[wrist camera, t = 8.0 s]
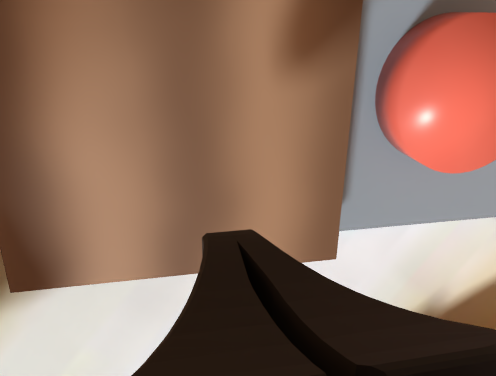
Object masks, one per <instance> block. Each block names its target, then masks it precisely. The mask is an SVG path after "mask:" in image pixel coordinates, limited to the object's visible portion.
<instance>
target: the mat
mask: <svg viewBox="0 0 496 376" xmlns="http://www.w3.org/2000/svg"><path fill="white" fill-rule="evenodd" d="M449 12H487V13H496V0H363V4H362V14H361V24H360V33H359V43H358V53H357V62H356V72H355V82H354V91H353V101H352V110H351V120H350V130H349V139H348V149H347V159H346V168H345V178H344V188H343V197H342V207H341V217H340V226H339V231H345V230H356V229H367V228H378V227H389V226H400V225H411V224H422V223H433V222H444V221H455V220H466V219H478V218H489V217H496V160H495V161H493V162H491V163H489V164H488V165H486V166H483V167H481V168H479V169H476V170H473V171H470V172H464V173H453V174H451V173H443V172H439V171H435V170H433V169H430V168H428V167H426V166H425V165H423V164H421V163H419V162H418V161H416V160H414V159H412V158H411V157H409V156H407V155H405V154H404V153H402V152H400V151H399V150H397V149H396V148H395V147H394V146H393V145H391V144H390V142H389V141H388V140H387V139H386V137H385V136H384V134H383V132H382V131H381V128H380V126H379V123H378V119H377V115H376V108H375V94H376V87H377V82H378V78H379V75H380V72H381V70H382V67H383V65H384V63H385V61H386V59H387V57H388V55H389V54H390V52H391V51H392V49H393V47H394V46H395V45H396V44H397V43H398V41H399V40H400V39H401V38H402V37H403V36H404V35H405V34H406V33H407V32H408V31H409V30H411V29H412V28H413V27H414V26H416V25H417V24H419V23H421V22H422V21H424V20H426V19H428V18H430V17H433V16H435V15H439V14H443V13H449Z"/></svg>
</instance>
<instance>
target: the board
mask: <svg viewBox="0 0 496 376" xmlns="http://www.w3.org/2000/svg"><path fill="white" fill-rule="evenodd" d="M362 4H363V0H0V249H1V253H2V257H3V262H4V266H5V271H6V275H7V279H8V284H9V288H10V293H13V292H23V291H32V290H42V289H52V288H61V287H71V286H81V285H90V284H100V283H109V282H119V281H129V280H138V279H148V278H158V277H167V276H177V275H187V274H196V273H199V269H200V265H201V261H202V237H203V236H204V235H205V234H206V233H214V232H225V231H237V230H248V229H252V230H254V231H255V232H257V233H258V234H260V235H261V236H263V237H264V238H265V239H267V240H268V241H270V242H271V243H272V244H274V245H275V246H277V247H278V248H279V249H281V250H282V251H284V252H285V253H287V254H288V255H290V256H291V257H293V258H294V259H296V260H297V261H299V262H300V263H303V262H312V261H322V260H332V259H336V255H337V245H338V236H339V226H340V217H341V207H342V197H343V188H344V178H345V168H346V159H347V149H348V139H349V130H350V120H351V110H352V101H353V91H354V82H355V72H356V62H357V53H358V43H359V33H360V24H361V14H362Z"/></svg>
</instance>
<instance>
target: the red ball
mask: <svg viewBox="0 0 496 376" xmlns="http://www.w3.org/2000/svg"><path fill="white" fill-rule="evenodd" d="M375 108H376V115H377V119H378V123H379V126H380V128H381V131H382V132H383V134H384V136H385V137H386V139H387V140H388V141H389V142H390V144H391V145H393V146H394V147H395V148H396V149H397V150H399V151H400V152H402V153H404V154H405V155H407V156H409V157H411V158H412V159H414V160H416V161H418V162H419V163H421V164H423V165H425V166H426V167H428V168H430V169H433V170H435V171H439V172H443V173H451V174H453V173H464V172H470V171H473V170H476V169H479V168H481V167H483V166H486V165H488V164H489V163H491V162H493V161H495V160H496V13H487V12H449V13H443V14H439V15H435V16H433V17H430V18H428V19H426V20H424V21H422V22H421V23H419V24H417V25H416V26H414V27H413V28H412V29H411V30H409V31H408V32H407V33H406V34H405V35H404V36H403V37H402V38H401V39H400V40H399V41H398V43H397V44H396V45H395V46H394V47H393V49H392V51H391V52H390V54H389V55H388V57H387V59H386V61H385V63H384V65H383V67H382V70H381V72H380V75H379V78H378V82H377V87H376V94H375Z"/></svg>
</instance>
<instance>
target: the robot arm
mask: <svg viewBox="0 0 496 376" xmlns="http://www.w3.org/2000/svg"><path fill="white" fill-rule="evenodd" d="M132 376H496V330H494V329H489V328H484V327H479V326H473V325H468V324H463V323H458V322H452V321H447V320H443V319H438V318H435V317H431V316H427V315H423V314H419V313H416V312H412V311H409V310H405V309H402V308H399V307H396V306H392V305H390V304H387V303H384V302H381V301H379V300H376V299H373V298H370V297H368V296H365V295H363V294H360V293H358V292H355V291H353V290H351V289H349V288H347V287H345V286H342V285H340V284H338V283H336V282H334V281H332V280H330V279H328V278H326V277H324V276H322V275H321V274H319V273H317V272H316V271H314V270H312V269H310V268H309V267H307V266H305V265H304V264H302V263H300V262H299V261H297V260H296V259H294V258H293V257H291V256H290V255H288V254H287V253H285V252H284V251H282V250H281V249H279V248H278V247H277V246H275V245H274V244H272V243H271V242H270V241H268V240H267V239H265V238H264V237H263V236H261V235H260V234H258V233H257V232H255V231H254V230H252V229H248V230H237V231H225V232H214V233H206V234H205V235H204V236H203V237H202V261H201V265H200V269H199V273H198V276H197V279H196V281H195V284H194V287H193V289H192V292H191V294H190V296H189V299H188V301H187V303H186V305H185V307H184V308H183V310H182V312H181V314H180V316H179V317H178V319H177V320H176V322H175V324H174V325H173V327H172V328H171V330H170V331H169V333H168V334H167V336H166V337H165V338H164V340H163V341H162V342H161V344H160V345H159V346H158V347H157V348H156V350H155V351H154V352H153V353H152V354H151V356H150V357H149V358H148V359H147V360H146V362H145V363H144V364H143V365H142V366H141V367H140V368H139V369H138V370H137V371H136V372H135V373H134V374H133V375H132Z"/></svg>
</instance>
